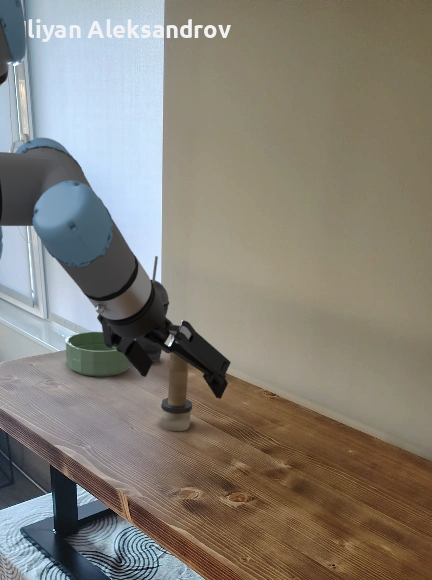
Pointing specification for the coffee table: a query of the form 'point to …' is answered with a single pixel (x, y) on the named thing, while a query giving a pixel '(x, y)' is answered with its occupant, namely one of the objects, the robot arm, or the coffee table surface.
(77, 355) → the bowl
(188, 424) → the dowel on round base
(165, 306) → the beverage cup
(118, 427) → the coffee table surface
